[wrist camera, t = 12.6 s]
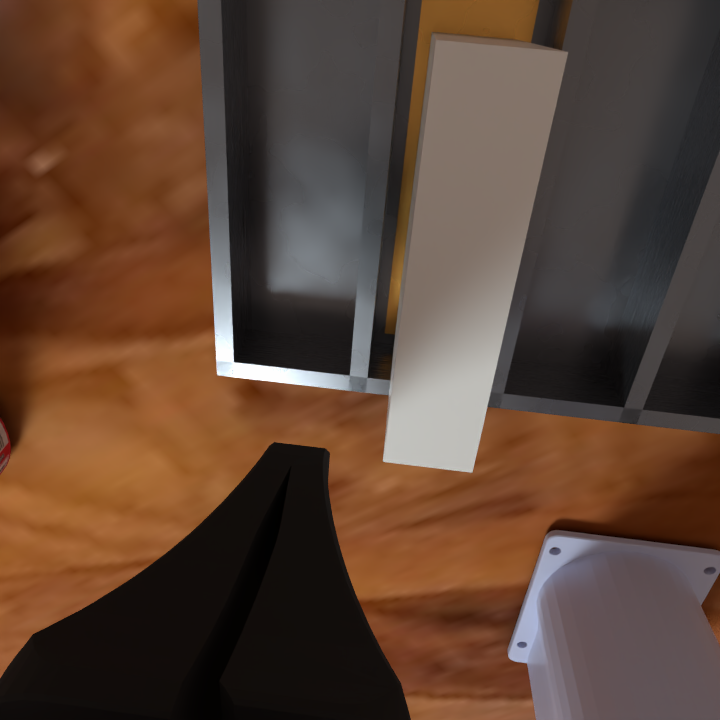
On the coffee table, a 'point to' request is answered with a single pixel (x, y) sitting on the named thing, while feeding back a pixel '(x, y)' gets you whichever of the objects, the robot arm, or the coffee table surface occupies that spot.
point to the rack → (395, 183)
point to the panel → (465, 238)
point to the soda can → (4, 447)
